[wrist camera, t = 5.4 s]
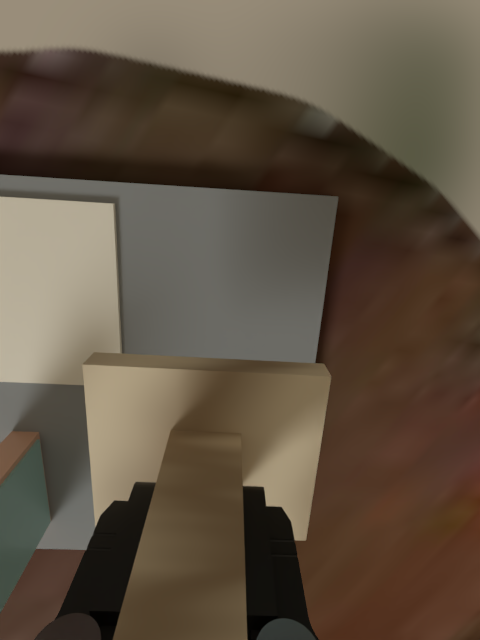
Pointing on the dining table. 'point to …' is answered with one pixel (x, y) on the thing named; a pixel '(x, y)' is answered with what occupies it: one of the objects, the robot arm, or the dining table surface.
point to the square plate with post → (199, 475)
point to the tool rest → (56, 288)
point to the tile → (20, 506)
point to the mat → (179, 304)
